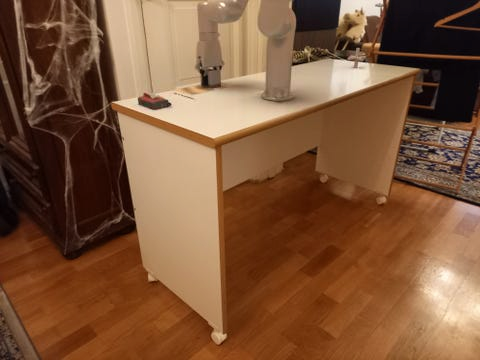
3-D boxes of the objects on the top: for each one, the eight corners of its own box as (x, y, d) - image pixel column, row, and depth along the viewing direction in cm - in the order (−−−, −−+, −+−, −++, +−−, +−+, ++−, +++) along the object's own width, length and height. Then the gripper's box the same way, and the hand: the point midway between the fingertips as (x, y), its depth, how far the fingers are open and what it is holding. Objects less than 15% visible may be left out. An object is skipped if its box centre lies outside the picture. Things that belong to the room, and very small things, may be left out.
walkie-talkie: (177, 107, 125) (148, 97, 138) (176, 94, 123) (146, 86, 136) (155, 112, 120) (127, 101, 133) (154, 99, 118) (125, 89, 131)
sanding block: (210, 84, 150) (209, 68, 147) (221, 86, 145) (220, 70, 142) (201, 86, 147) (200, 70, 144) (211, 88, 142) (210, 72, 139)
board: (215, 85, 155) (215, 81, 154) (234, 89, 147) (234, 85, 147) (174, 93, 142) (173, 89, 141) (192, 98, 134) (191, 94, 133)
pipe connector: (342, 67, 192) (344, 47, 188) (358, 65, 195) (360, 46, 190) (352, 70, 184) (355, 49, 179) (369, 68, 186) (372, 49, 182)
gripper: (219, 34, 145) (220, 79, 153) (185, 38, 134) (188, 86, 143) (231, 36, 140) (232, 82, 148) (196, 39, 130) (200, 89, 138)
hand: (210, 83), depth 145 cm, fingers closed on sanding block, 5 cm apart
